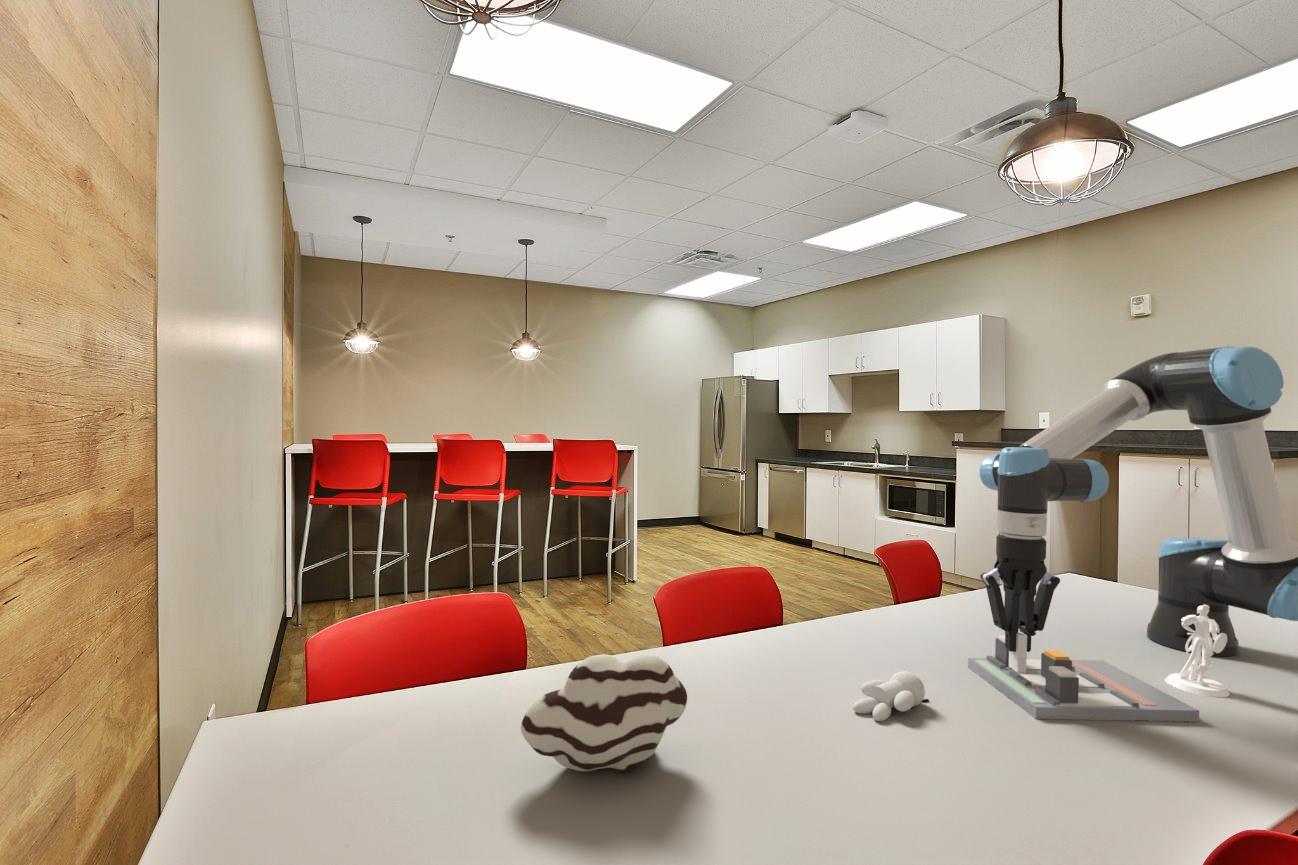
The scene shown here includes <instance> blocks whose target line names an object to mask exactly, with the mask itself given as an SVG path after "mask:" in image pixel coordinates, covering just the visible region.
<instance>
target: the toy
mask: <svg viewBox="0 0 1298 865" xmlns="http://www.w3.org/2000/svg"><path fill="white" fill-rule="evenodd" d="M860 689H861V692H862V694H863V695H865V696H867V697H864V698H862V699H861V698H860V699H859V700H857V701H856V702H855V703H854V704H853V707H852V710H853V711H854V713H856V714H859V715H860V714H861V715H866V714H867V715H869V714H872V718H873V719H874V720H875V721H877V722H884V721H887V720H888V719H889V717H890V716H891V714H892V708H895V709H896V711H899V712H901V713H902V712H907V711H909V710H911V708H913V707H914V708H915V707H917V706H918V705H920V704H922V703H921V702H924V703H929V702H930V700H929V698H925V694H926V693H925V692H926V691H925V690H926V689H925V684H924V683H923V681H922V680H921V678H920V677H919V676H918V675H917V674H915V673H913V672H910V671H906V670H902V671H898V672H896V673H894V674H893V675H892V676H891V678H890V679H889V681H886V680H883V679H871V680H868V681H866V682H864V683H863V684H862V686H861V688H860Z"/></svg>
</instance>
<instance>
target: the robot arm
mask: <svg viewBox="0 0 1298 865" xmlns="http://www.w3.org/2000/svg"><path fill="white" fill-rule="evenodd" d="M1283 388H1284V376H1283V372H1282V370H1281V367H1280V366H1279V364H1278V363H1277V361H1276V360H1275V358H1274V357H1273V356H1272V355H1270V354H1269V353H1268V352H1266V351H1264V350H1262V349H1261V348H1260V347H1255V346H1222V347H1213V348H1206V349H1205V348H1204V349H1199V350H1197V349H1196V350H1189V351H1181V352H1177V351H1176V352H1169V353H1164V354H1160V355H1157V356H1154V357H1151V358H1149V359H1145V360H1144V361H1142V362H1140V363H1138V364H1136V365H1134V366H1132V367H1130V368H1128V369H1127V370H1125V371H1123V372H1122V373H1119V374H1118V375H1116V376H1114V378H1111V380H1108V381H1107V382H1105V383H1104V384H1103V386H1102V387H1101V390H1100V393H1098V394H1096V395H1095V396H1093V397H1092V398H1090V399H1089V400H1087V401H1086V402H1084V403H1083V404H1082V405H1080V406H1079V407H1077V408H1075V409H1074V410H1072V411H1070V412H1069V413H1068V414H1066V415H1065V416H1063V417H1062V418H1060V419H1059V420H1057V421H1055V422H1054V423H1053V424H1050V425H1049V426H1048V427H1046V428H1045V429H1044V430H1042V431H1040V432H1039V433H1037V434H1035V435H1034V436H1033V437H1031V438H1030V439H1028V440H1026V441H1025V442H1024V443H1022V444H1020V445H1019V446H1017V447H1016V446H1014V447H1013V446H1010V447H1009V446H1008V447H1004V448H1002V449H1001V450H1000V452H999V453H995V454H990V455H988V456H986V457H985V458H984V459H983V460H982V461H981V464H980V465H979V471H978V472H979V478H980V480H981V482H982V484H983V485H984V487H986V488H987V489H989V490H991V491H997V508H996V510H997V512H996V531H997V532H998V533H999V534H998V535H996V543H995V546H996V547H995V554H996V561H995V563H994V566H993V569H992V570H990V571H988V572H987V573H986V572H981V574H980V579H981V580H982V582H983V583H984V585H985V587H986V594H987V598H988V602H989V606H990V612H991V615H992V620H993V622H992V623H993V625H994V626H995V627H997V628H999V629H1001V630H1003V631H1004V632H1005V633H1004V636H1005V648H1006V649H1007V650H1009V667H1010V668H1012V669H1013V670H1015V671H1016V672H1020V673H1026V659H1028V658H1027V655H1028V653H1031V650H1032V637H1035V636H1036V634H1037V632H1038V631H1039V632H1042V631H1044V628H1045V625H1046V621H1047V618H1048V614H1049V610H1050V608H1051V607H1050V606H1051V604H1052V600H1053V596H1054V592H1055V590H1056V589H1057V587H1058V585H1059V584H1060V582H1061V579H1060V578H1059V577H1058V576H1056V575H1053V574H1051V573H1049V572H1048V571H1047V570H1048V569H1047V566H1046V564H1045V560H1046V558H1047V540H1046V539H1045V538H1044V537H1045V536H1046V535H1047V523H1048V522H1047V521H1048V504H1049V502H1080V503H1084V502H1088V501H1090V502H1091V501H1096V500H1099V499H1100V498H1101V499H1102V497H1103V496H1104V495H1105V494H1106V493H1107V492H1108V489H1109V485H1110V484H1109V483H1110V477H1109V473H1108V471H1107V469H1106V468H1105V466H1103V464H1101V462H1099V461H1096V460H1092V459H1085V458H1076V457H1077V456H1079V455H1080V454H1081V453H1083V452H1084V451H1085V450H1088V449H1089V448H1090V447H1092V446H1093V445H1095V444H1096V443H1097V442H1099V441H1101V440H1102V439H1104V438H1105V437H1107V436H1109V435H1110V434H1111V433H1113V432H1114V431H1116V430H1117V429H1119V428H1120V427H1121V426H1123V425H1124V424H1126V423H1128V422H1131V421H1132V422H1133V421H1139V420H1141V419H1143V418H1145V417H1146V416H1147V415H1149V414H1152V413H1157V412H1163V411H1173V410H1174V411H1187V414H1188V420H1189V423H1190V424H1191V425H1192V426H1194V427H1196V428H1198V429H1200V430H1202V433H1203V437H1204V439H1203V440H1204V442H1205V446H1206V451H1207V454H1208V458H1209V462H1210V466H1211V470H1212V471H1211V472H1212V475H1213V480H1214V484H1215V488H1216V492H1217V497H1218V500H1219V504H1220V509H1221V513H1222V517H1223V520H1224V521H1223V522H1224V525H1225V529H1226V533H1227V539H1220V538H1197V537H1196V538H1194V537H1193V538H1192V537H1191V538H1188V537H1186V538H1185V537H1183V538H1181V537H1179V538H1178V537H1175V538H1174V537H1173V538H1172V537H1171V538H1166V539H1164V540H1163V541H1161V544H1160V547H1159V555H1158V557H1157V558H1158V587H1157V588H1158V589H1157V590H1158V591H1157V595H1158V596H1157V605H1156V606H1155V609H1154V612H1153V614H1152V616H1151V619H1150V621H1149V622H1148V623H1147V625H1146V638H1148V639H1150V640H1151V641H1153V642H1155V643H1156V644H1160V645H1163V646H1165V647H1168V648H1172V649H1175V650H1180V651H1184V652H1187V651H1186V649H1185V645H1186V643H1187V641H1188V639H1189V638H1190V636H1192V635H1188V634H1187V633H1193V632H1190V631H1188V630H1186V629H1184V628H1183V626H1182V622H1183V621H1181V619H1182V618H1183V617H1186V616H1187V615H1196V616H1199V615H1200V614H1199V612H1198V614H1197V608H1198V606H1201V605H1202V606H1203V605H1208V606H1209V607H1210V608H1209V609H1208V610H1209V612H1208V614H1207V616H1208V618H1210V619H1214V620H1215V621H1216V623H1217V624H1218V625H1219V627H1218V628H1219V629H1220V631H1219V633H1217V632H1216V633H1217V635H1219V634H1220V633H1225V634H1226V635H1227V643H1226V645H1225V647H1224V649H1223V650H1222V651H1221V652H1220V653H1216V652H1214V651H1213V655H1212V656H1216V657H1231V656H1236V655H1238V654H1239V651H1240V650H1239V648H1240V646H1239V645H1240V644H1239V639H1238V638H1237V637H1236V633H1235V629H1234V626H1233V624H1232V621H1231V618H1230V614H1229V610H1230V609H1229V606H1230V607H1233V608H1237V609H1241V610H1246V611H1250V612H1253V613H1257V614H1261V615H1266V616H1269V617H1270V618H1272V619H1276V618H1277V619H1282V620H1286V621H1292V622H1298V542H1297V541H1295V540H1293V539H1291V538H1290V534H1289V532H1288V526H1287V523H1286V518H1285V514H1284V509H1283V505H1282V500H1281V496H1280V492H1279V488H1278V483H1277V480H1276V475H1275V470H1274V467H1273V466H1274V465H1273V461H1272V457H1271V453H1270V449H1269V445H1268V439H1267V436H1266V431H1265V426H1264V421H1265V420H1266V419H1267V418H1268V417H1269V416H1270V415H1271V414H1272V408H1271V407H1273V406H1275V405H1276V404H1277V403H1278V402H1279V401H1280V398H1282V395H1283V391H1282V389H1283ZM1000 580H1001V581H1000ZM1000 582H1002V583H1003V586H1002V587H1003V588H1002V589H1003V591H1004V598H1003V595H1002V592H1001V591H1002V590H1001V587H1000V585H999V584H1000ZM1038 584H1039V585H1038ZM1037 585H1038V587H1037ZM1003 599H1004V600H1003ZM1188 627H1190V628H1191V629H1192V630H1194V631H1195V630H1196V627H1195V625H1194V624H1191V625H1189V626H1188ZM1210 636H1211V638H1212V642H1213V644H1214V641H1215V640H1213V636H1212V633H1210ZM1191 645H1192V639H1191V641H1190V642H1189V644H1188V649H1189V647H1190V646H1191ZM1189 653H1192V651H1190V652H1189ZM1201 655H1202V652H1201Z"/></svg>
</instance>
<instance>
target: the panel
mask: <svg viewBox="0 0 1298 865" xmlns="http://www.w3.org/2000/svg"><path fill="white" fill-rule="evenodd" d="M1070 660H1071V661H1072V672H1074V673H1075V674H1076V677H1078V678H1079V690H1078V703H1060V701H1058V700H1057V699H1055V698H1054V697H1052V696H1051V695H1049V694H1048V693H1046V692H1045V684H1046V678H1044V677H1043V676H1041V658H1040V659H1037V658H1027V659H1026V673H1020V672H1016V671H1015V670H1013V669H1012V668H1010V667H1009V666H1006V665H1005V664H1003V663H1002V662H1000V661H999V660H997V659H996V658H995V656H993V655H986V657H968V658H967V668H969V669H970V670H972V672H974V674H977V675H978V676H979V677H981V678H982V679H983V680H984V681H985V682H987V683H988V684H990V685H991V686H992V687H994V688H995V689H996V690H997V691H999V692H1000V693H1001V694H1003V695H1004V696H1006V697H1007V698H1008V699H1009V700H1011V701H1012V702H1014V703H1015V704H1016V705H1017V706H1018V707H1020V708H1021V709H1022V710H1024V711H1025V712H1027V713H1028V714H1029V715H1030V716H1032V718H1034V719H1041V720H1042V719H1043V720H1045V719H1048V720H1049V719H1050V720H1086V721H1087V720H1088V719H1090V720H1091V721H1092V720H1093V721H1095V720H1096V721H1134V720H1148V721H1147V722H1183V721H1189V722H1192V723H1193V722H1194V723H1195V722H1196V723H1199V722H1200V710H1199V709H1198V708H1195V707H1193V706H1191V705H1189V704H1187V703H1186V702H1184V701H1182V700H1180V699H1178V698H1176V697H1174V696H1172V695H1170V694H1168V693H1167V692H1164V691H1163V690H1160V689H1159V688H1157V687H1156V686H1155V687H1154V686H1153V685H1152V684H1151V685H1150V684H1149V683H1147V682H1146V681H1143V680H1142V679H1140V678H1138V677H1135V676H1133V675H1132V674H1130V673H1128V672H1126V671H1124V670H1122V669H1120V668H1118V667H1116V666H1114V665H1112V664H1110V663H1108V662H1106V661H1105V660H1092V659H1091V660H1090V659H1088V660H1087V659H1085V660H1084V659H1070ZM1090 720H1089V721H1090Z"/></svg>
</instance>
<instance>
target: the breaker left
mask: <svg viewBox="0 0 1298 865" xmlns="http://www.w3.org/2000/svg"><path fill="white" fill-rule="evenodd" d="M994 646H995V650H994V651H995V653H994V654H995V655H994V658H996V659H997V660H999V661H1000V662H1002V663H1003V664H1005V665H1006V666H1009V650H1007V649H1006V648H1005V635H998V637H996V638H995V645H994Z"/></svg>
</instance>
